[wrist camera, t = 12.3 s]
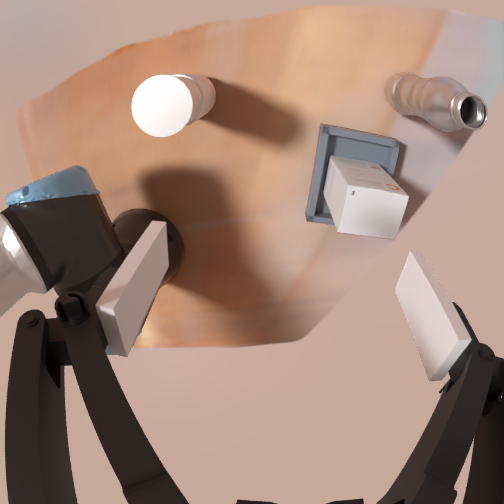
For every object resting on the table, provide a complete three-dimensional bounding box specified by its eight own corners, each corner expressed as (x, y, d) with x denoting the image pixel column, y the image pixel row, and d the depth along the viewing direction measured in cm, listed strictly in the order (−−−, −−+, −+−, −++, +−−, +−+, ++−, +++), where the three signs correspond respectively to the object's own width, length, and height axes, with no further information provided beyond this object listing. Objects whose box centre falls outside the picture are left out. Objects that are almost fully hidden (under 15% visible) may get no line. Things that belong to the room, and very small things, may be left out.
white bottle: (165, 87, 41) (119, 97, 28) (205, 64, 39) (174, 62, 26) (186, 125, 44) (149, 149, 31) (226, 104, 42) (205, 118, 29)
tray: (305, 214, 50) (306, 221, 48) (320, 123, 42) (322, 126, 40) (373, 223, 50) (377, 231, 48) (395, 138, 42) (400, 142, 40)
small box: (322, 192, 48) (335, 233, 37) (329, 153, 44) (347, 183, 33) (370, 200, 47) (396, 241, 36) (379, 163, 44) (410, 195, 33)
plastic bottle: (421, 112, 39) (498, 144, 22) (382, 113, 40) (447, 145, 23) (418, 72, 36) (497, 82, 19) (377, 72, 37) (443, 77, 20)
